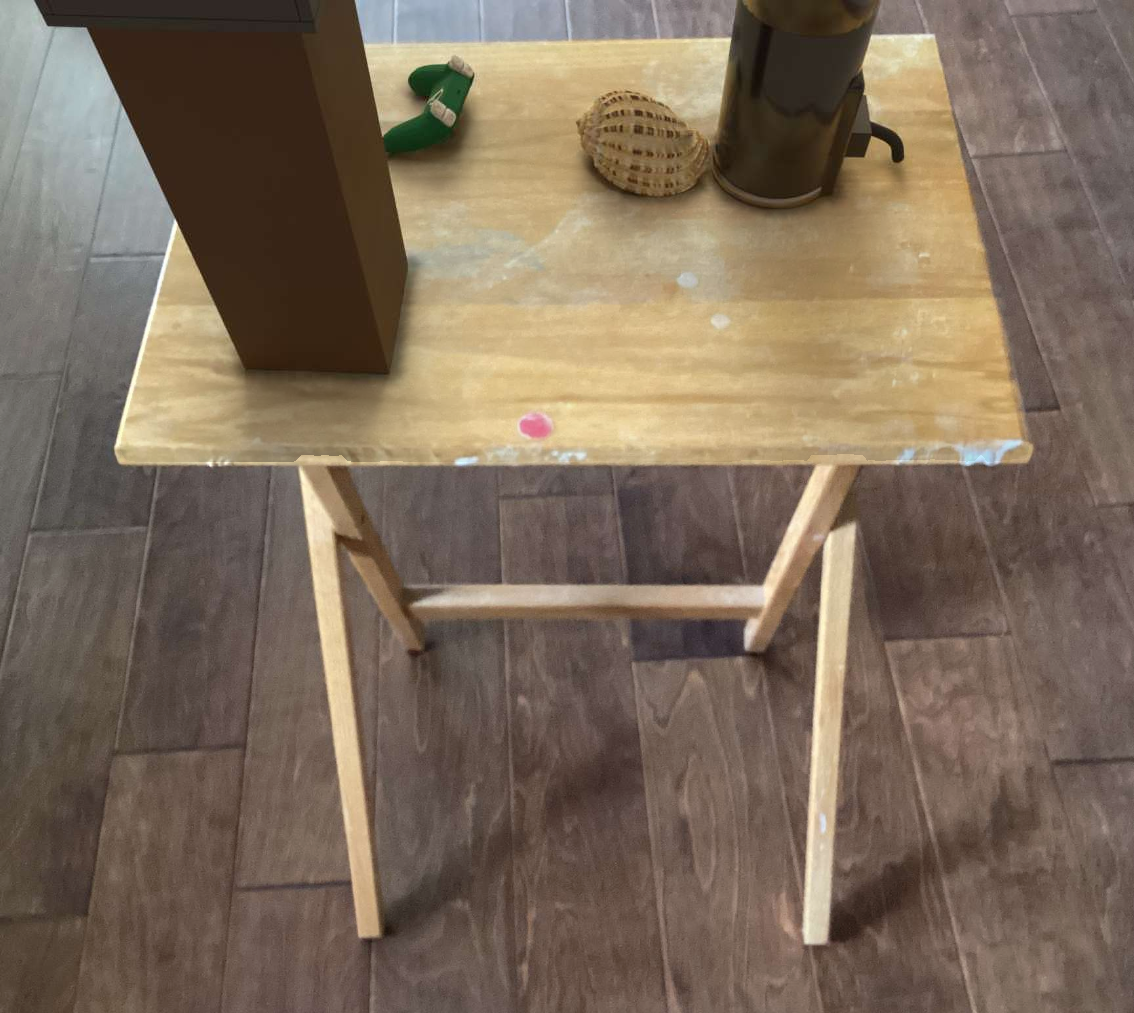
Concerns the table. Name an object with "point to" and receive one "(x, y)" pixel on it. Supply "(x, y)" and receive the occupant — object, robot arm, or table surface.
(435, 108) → the gaming controller
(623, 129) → the seashell
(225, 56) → the bin
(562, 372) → the table surface
